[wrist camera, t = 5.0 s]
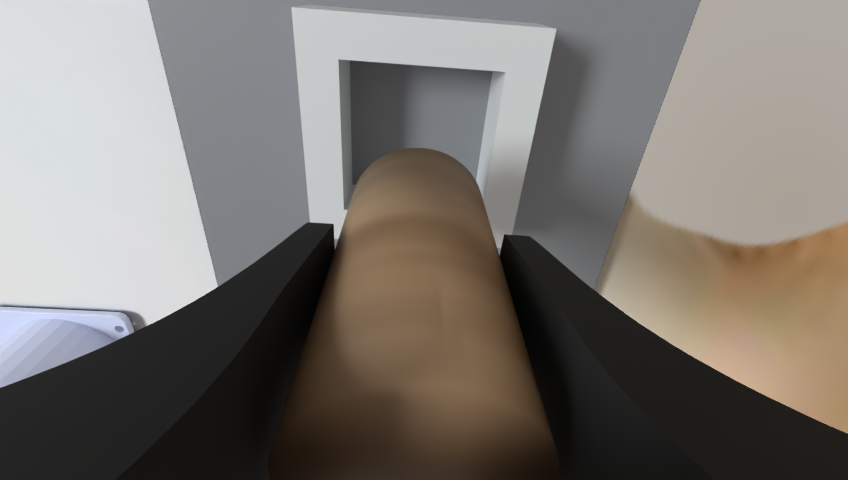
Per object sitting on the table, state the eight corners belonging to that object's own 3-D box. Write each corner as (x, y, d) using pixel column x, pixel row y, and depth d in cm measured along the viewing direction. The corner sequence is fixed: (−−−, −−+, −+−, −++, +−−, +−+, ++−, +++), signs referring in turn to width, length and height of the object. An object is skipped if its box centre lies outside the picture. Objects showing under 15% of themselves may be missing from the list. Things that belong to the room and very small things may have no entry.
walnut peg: (472, 266, 14) (525, 547, 7) (352, 260, 13) (284, 542, 7) (492, 152, 11) (596, 394, 5) (350, 142, 11) (244, 379, 4)
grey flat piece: (577, 304, 24) (600, 349, 21) (228, 287, 23) (199, 332, 20) (743, -166, 13) (838, -211, 10) (109, -233, 12) (10, -305, 9)
